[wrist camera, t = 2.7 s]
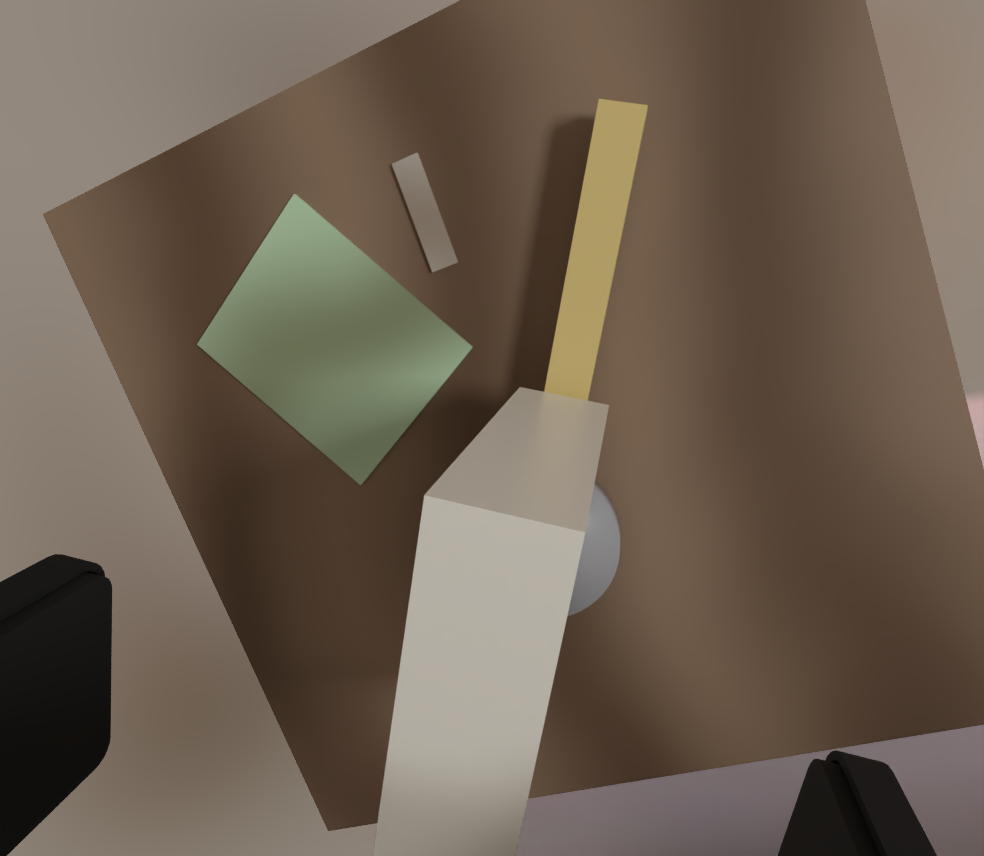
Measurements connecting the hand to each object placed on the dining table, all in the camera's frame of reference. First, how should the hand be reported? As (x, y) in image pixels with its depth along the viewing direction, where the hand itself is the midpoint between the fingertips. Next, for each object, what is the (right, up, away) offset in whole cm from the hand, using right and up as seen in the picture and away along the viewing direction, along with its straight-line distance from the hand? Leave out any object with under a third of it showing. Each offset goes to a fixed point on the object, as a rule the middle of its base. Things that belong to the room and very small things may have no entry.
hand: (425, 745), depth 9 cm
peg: (+2, +4, +6) cm, 8 cm away
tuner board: (+2, +4, +8) cm, 9 cm away
